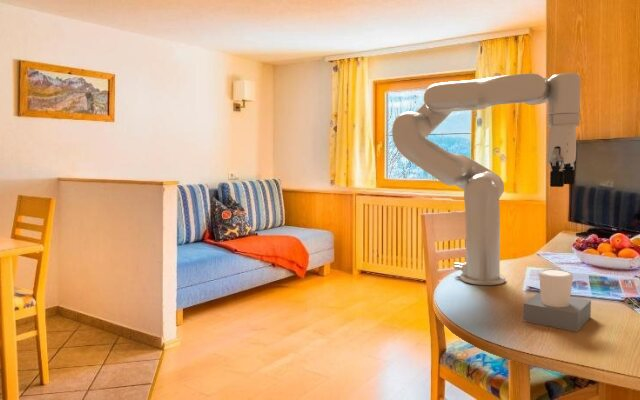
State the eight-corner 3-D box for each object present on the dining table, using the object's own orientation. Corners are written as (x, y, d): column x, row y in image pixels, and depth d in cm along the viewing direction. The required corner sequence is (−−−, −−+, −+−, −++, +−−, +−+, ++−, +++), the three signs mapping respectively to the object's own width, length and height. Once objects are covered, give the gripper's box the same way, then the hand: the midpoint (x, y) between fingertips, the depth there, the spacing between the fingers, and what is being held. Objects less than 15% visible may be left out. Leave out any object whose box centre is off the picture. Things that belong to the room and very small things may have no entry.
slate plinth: (523, 320, 106) (523, 303, 106) (539, 307, 114) (539, 291, 114) (577, 331, 99) (577, 313, 99) (590, 317, 107) (590, 300, 107)
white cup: (559, 310, 101) (559, 278, 100) (531, 301, 107) (532, 271, 106) (579, 304, 104) (580, 273, 103) (551, 296, 110) (552, 267, 109)
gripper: (558, 123, 134) (557, 182, 136) (538, 121, 122) (537, 187, 124) (587, 121, 129) (586, 183, 131) (569, 119, 117) (568, 188, 118)
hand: (562, 185), depth 127 cm, fingers open, 9 cm apart
